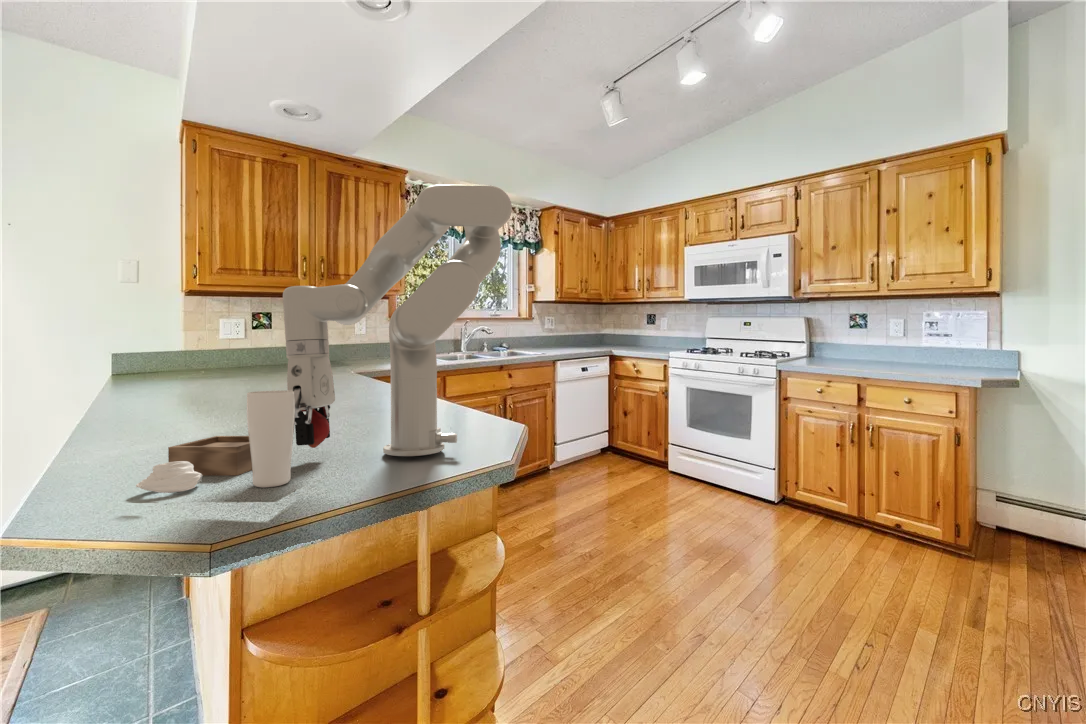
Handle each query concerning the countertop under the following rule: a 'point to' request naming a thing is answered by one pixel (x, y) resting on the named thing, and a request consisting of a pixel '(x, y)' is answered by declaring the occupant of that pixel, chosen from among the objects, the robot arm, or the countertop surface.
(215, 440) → the walnut base
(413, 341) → the robot arm
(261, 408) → the drinking glass
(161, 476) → the whipped cream
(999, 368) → the countertop surface
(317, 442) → the onion
